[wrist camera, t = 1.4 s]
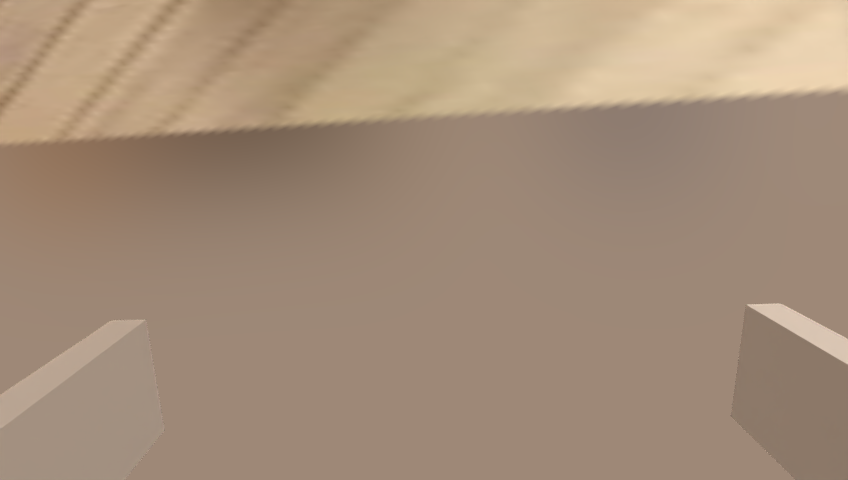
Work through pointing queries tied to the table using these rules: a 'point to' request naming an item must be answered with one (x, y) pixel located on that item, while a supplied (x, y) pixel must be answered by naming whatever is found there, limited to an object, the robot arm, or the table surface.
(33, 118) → the table surface
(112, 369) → the robot arm
